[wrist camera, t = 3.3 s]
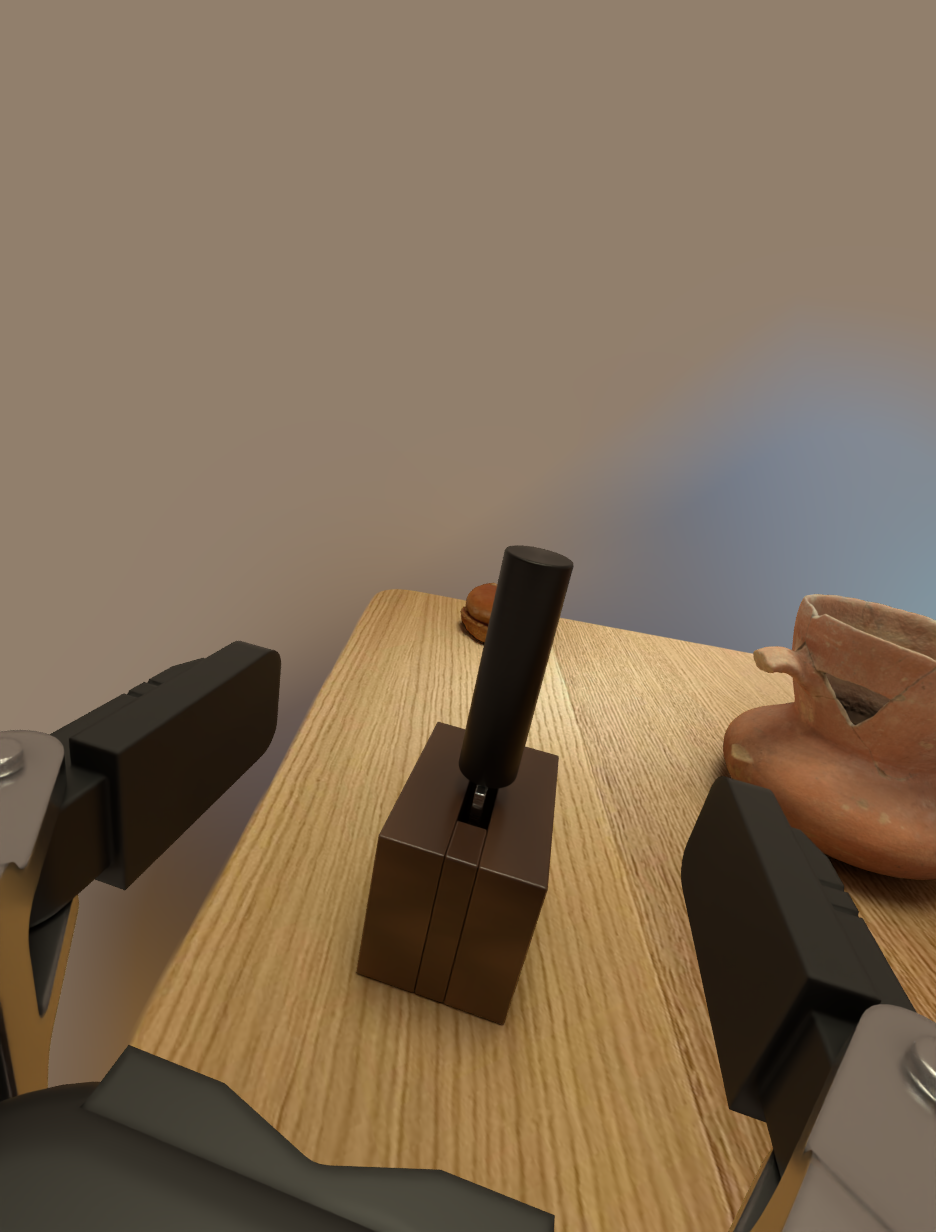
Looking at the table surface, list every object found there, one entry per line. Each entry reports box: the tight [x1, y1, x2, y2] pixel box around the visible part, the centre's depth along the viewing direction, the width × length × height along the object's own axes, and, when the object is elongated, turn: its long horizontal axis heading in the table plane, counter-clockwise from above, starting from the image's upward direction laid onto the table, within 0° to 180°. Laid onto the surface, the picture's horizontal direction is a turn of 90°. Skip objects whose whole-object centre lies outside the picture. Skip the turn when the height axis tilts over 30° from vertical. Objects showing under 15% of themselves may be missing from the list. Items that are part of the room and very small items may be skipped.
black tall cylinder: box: [458, 546, 573, 827], centre depth 21 cm, size 2×3×17 cm
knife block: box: [356, 722, 559, 1024], centre depth 23 cm, size 6×8×7 cm
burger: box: [460, 583, 497, 642], centre depth 56 cm, size 10×9×5 cm
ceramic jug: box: [723, 594, 936, 880], centre depth 34 cm, size 18×14×14 cm
